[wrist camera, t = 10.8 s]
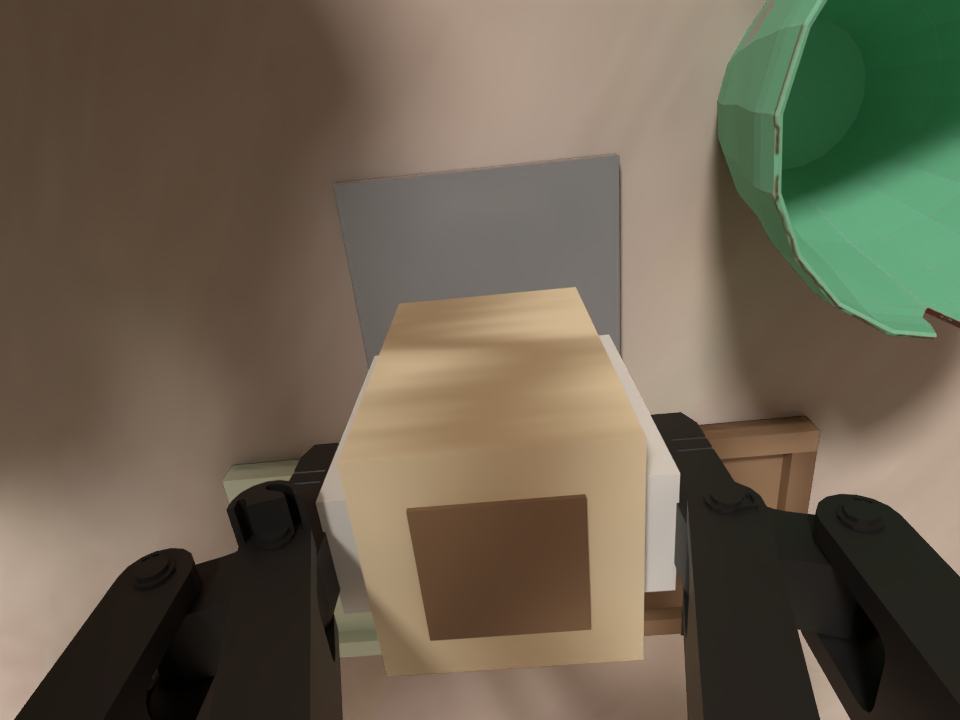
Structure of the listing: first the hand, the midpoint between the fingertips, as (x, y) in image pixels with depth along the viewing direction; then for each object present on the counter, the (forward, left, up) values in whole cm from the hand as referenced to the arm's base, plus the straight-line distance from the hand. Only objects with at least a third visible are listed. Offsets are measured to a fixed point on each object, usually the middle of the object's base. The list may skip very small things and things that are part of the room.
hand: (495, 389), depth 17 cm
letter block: (0, 0, -1) cm, 1 cm away
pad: (0, 0, -7) cm, 7 cm away
